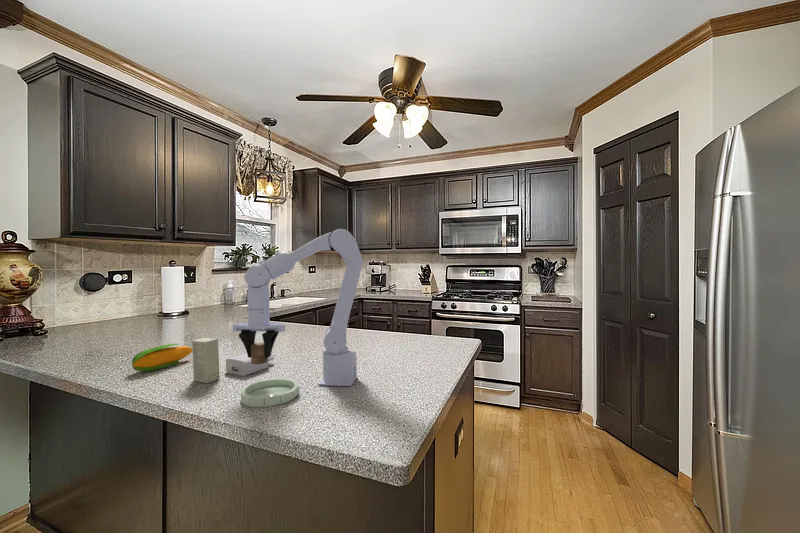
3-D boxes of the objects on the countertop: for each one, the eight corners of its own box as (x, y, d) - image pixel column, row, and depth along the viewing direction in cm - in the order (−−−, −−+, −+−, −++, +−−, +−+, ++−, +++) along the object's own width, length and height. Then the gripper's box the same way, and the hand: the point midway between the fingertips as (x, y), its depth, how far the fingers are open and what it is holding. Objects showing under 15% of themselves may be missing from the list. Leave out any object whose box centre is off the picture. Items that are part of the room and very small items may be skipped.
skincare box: (220, 379, 103) (219, 338, 103) (206, 384, 99) (205, 341, 99) (205, 376, 106) (205, 336, 106) (191, 381, 102) (191, 340, 102)
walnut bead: (270, 359, 99) (270, 342, 99) (263, 364, 95) (262, 346, 95) (256, 359, 100) (255, 342, 99) (247, 364, 95) (247, 346, 95)
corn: (124, 350, 108) (184, 336, 127) (124, 374, 109) (184, 357, 127) (140, 353, 106) (199, 339, 124) (140, 378, 106) (198, 360, 125)
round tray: (306, 386, 96) (306, 379, 96) (284, 408, 83) (284, 399, 83) (258, 385, 98) (258, 377, 98) (229, 406, 84) (229, 397, 84)
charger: (282, 363, 119) (245, 377, 106) (263, 360, 123) (225, 372, 110) (282, 350, 119) (245, 361, 106) (263, 347, 123) (225, 358, 110)
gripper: (289, 306, 100) (290, 353, 100) (242, 306, 102) (243, 352, 102) (278, 310, 93) (279, 360, 93) (227, 310, 95) (228, 359, 95)
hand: (259, 356), depth 97 cm, fingers closed on walnut bead, 4 cm apart
